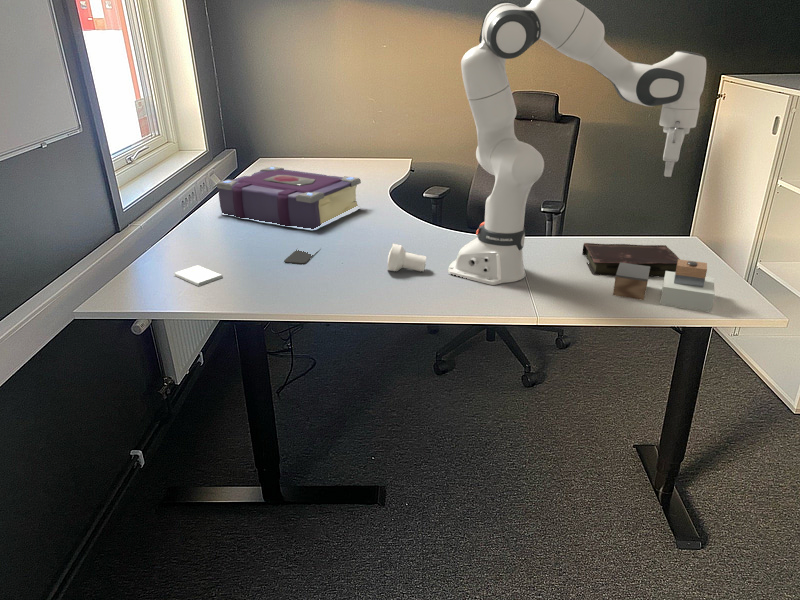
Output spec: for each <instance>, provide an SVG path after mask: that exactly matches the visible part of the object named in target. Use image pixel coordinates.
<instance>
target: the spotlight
mask: <svg viewBox="0 0 800 600" xmlns="http://www.w3.org/2000/svg"><path fill="white" fill-rule="evenodd" d="M426 261H427V256H425V255H420V254H416V253H411V252H407V251H406V250H405V249H404V246H403V245H401V244H397V243H392V246H391V249H390V250H389V253H388V256H387V271H392V272H395V271H396V272H398V271H399V270H400V269H402V268H404V269H408V270H412V271H416V272H421V271H423V272H425V271H424V270H425V268H426Z"/></svg>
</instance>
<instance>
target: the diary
mask: <svg viewBox="0 0 800 600" xmlns="http://www.w3.org/2000/svg"><path fill="white" fill-rule="evenodd" d="M582 256H585V258H586V259H587V262H586V265H587V266H588V268H589V271H590V274H591V275H595V276H607V277H608V276H609V277H616V273H617V270H618V267H619V264H620V262H621V263H628V264H636V265H643V266H650V272H649V277H654V276H659V277H658V278H664V276H665V271H671V272H675V271H676V266H677V261H678V259H680V257H678V256H677V254H675V252H674V251H672V249H670V248H669V247H668V246H667V245H663V244H660V245H658V244H652V245H651V244H646V245H645V244H644V245H643V244H630V243H629V244H628V243H627V244H626V243H593V242H591V243H590V242H584V243H583V245H582ZM588 263H589V264H588Z"/></svg>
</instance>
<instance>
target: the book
mask: <svg viewBox="0 0 800 600" xmlns="http://www.w3.org/2000/svg"><path fill="white" fill-rule="evenodd" d="M360 184H361V178H360V177H354V176H346V175H345V176H336V175H327V174H322V173H321V174H320V173H314V172H306V171H298V170H289V169H285V168H284V167H277V166H270V167H265V168H262V169H260V170H259V171H256V172H254V173H252V174H251V175H243V176H241V177H237V178H234V179H229V178H228V179H225V180H223V181H218V182H217V184H216V187H217V189H218V200H219V201H218V202H219V207H220V210H221V214H222V213H224V214H228V215H234V216H236V217H240V218H249V219H254V220H259V221H265V222H272V223H277V224H280V225H285V226H297V227H303V228H311V229H314V228H316V227H318V226H320V225H321V224H322V223H324V222H326V221H328V220H330V219H332V218H334V217H336V216H338V215H340V214H342V213H344V212H346V211H348V210H350V209H352V208H354V207H356V206H358V205H359V204H358V202H357V198H356V197H357V194H356V193H357V191H356V189H357V185H360ZM358 207H359V206H358Z"/></svg>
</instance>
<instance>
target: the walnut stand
mask: <svg viewBox="0 0 800 600" xmlns="http://www.w3.org/2000/svg"><path fill="white" fill-rule="evenodd" d="M649 272H650V266H643V265H636V264H628V263H621V262H620V264H619V267H618V270H617V273H616V276H614V277H615V278H614V284H613V291H612V296H615V297H621V298H627V299H635V300H640V301H645V298H646V291H647V287H648V282H649V278H650V276H649Z"/></svg>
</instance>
